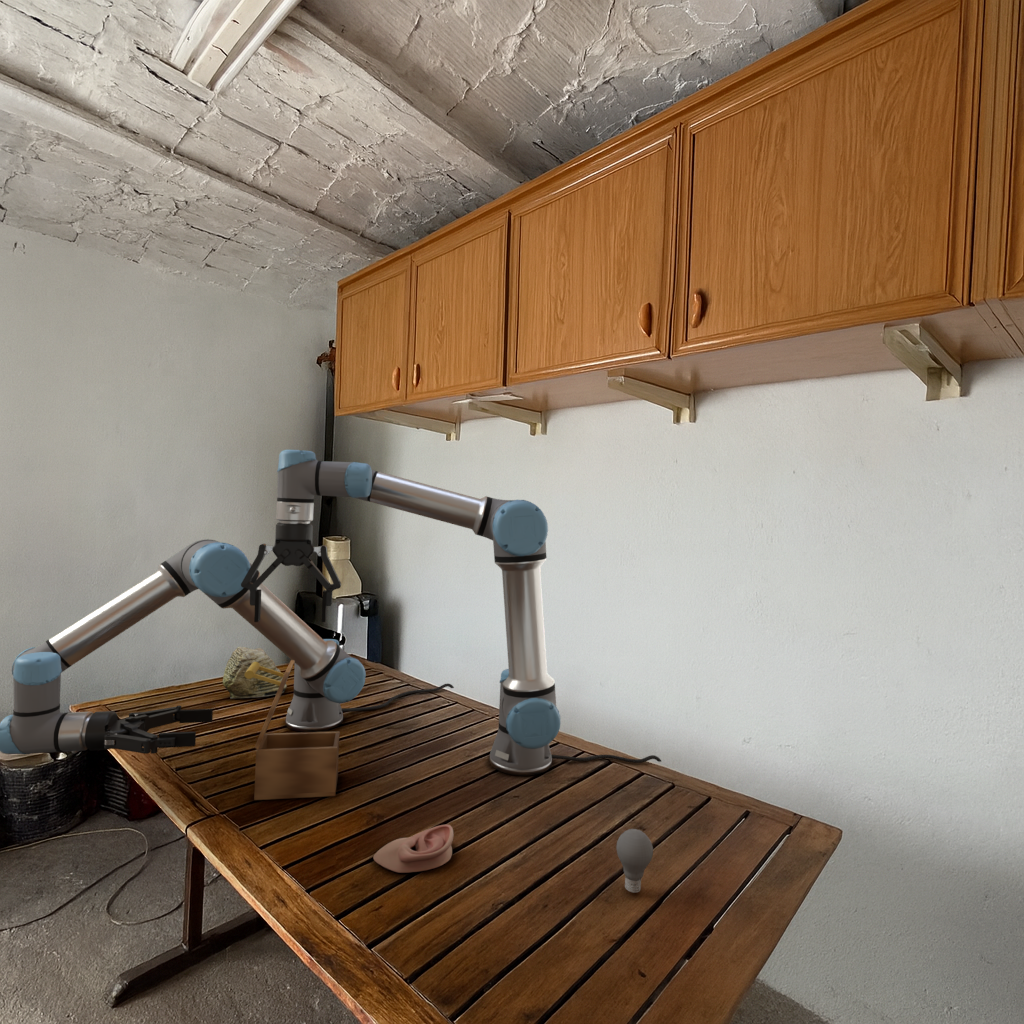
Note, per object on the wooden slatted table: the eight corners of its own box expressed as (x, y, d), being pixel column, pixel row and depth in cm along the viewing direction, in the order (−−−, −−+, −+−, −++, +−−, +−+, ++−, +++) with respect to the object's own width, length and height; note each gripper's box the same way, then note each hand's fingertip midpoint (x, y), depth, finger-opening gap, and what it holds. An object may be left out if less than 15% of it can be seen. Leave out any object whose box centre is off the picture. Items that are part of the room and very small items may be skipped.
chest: (337, 776, 144) (339, 731, 144) (335, 795, 134) (337, 747, 134) (262, 779, 140) (264, 733, 140) (254, 800, 131) (256, 750, 131)
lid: (294, 660, 141) (258, 648, 139) (289, 672, 132) (249, 659, 130) (265, 732, 140) (228, 721, 139) (258, 749, 131) (218, 737, 129)
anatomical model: (366, 844, 109) (392, 812, 120) (365, 867, 109) (391, 833, 120) (440, 856, 106) (459, 823, 117) (439, 880, 106) (458, 844, 117)
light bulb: (610, 879, 108) (613, 822, 108) (644, 879, 109) (647, 822, 109) (619, 902, 102) (622, 840, 102) (655, 901, 103) (658, 840, 103)
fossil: (218, 695, 195) (220, 647, 195) (278, 685, 208) (279, 640, 207) (228, 703, 189) (230, 653, 188) (289, 692, 201) (290, 645, 201)
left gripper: (115, 727, 141) (218, 722, 145) (61, 776, 116) (186, 769, 121) (115, 693, 140) (218, 690, 145) (61, 736, 116) (187, 730, 121)
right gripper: (228, 520, 129) (224, 624, 130) (353, 525, 135) (350, 624, 135) (236, 519, 137) (232, 617, 137) (355, 523, 142) (351, 617, 142)
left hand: (204, 726), depth 133 cm, fingers open, 13 cm apart
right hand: (290, 621), depth 136 cm, fingers open, 13 cm apart
